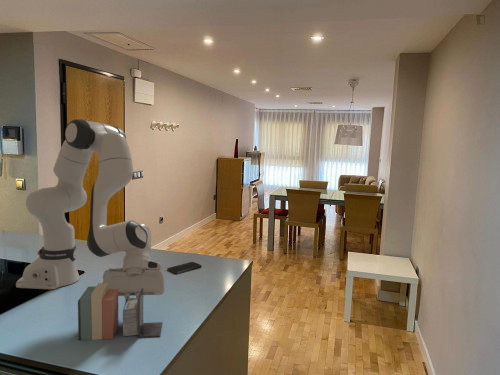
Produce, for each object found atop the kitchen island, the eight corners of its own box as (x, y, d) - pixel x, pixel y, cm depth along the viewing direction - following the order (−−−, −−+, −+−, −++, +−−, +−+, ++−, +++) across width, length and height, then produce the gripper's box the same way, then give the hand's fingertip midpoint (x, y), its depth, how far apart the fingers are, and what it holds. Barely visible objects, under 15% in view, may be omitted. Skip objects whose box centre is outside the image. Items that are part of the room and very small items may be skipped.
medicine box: (138, 335, 108) (138, 308, 107) (122, 336, 107) (122, 309, 106) (140, 322, 115) (140, 297, 114) (125, 323, 114) (125, 298, 113)
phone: (202, 265, 169) (175, 272, 158) (202, 268, 169) (175, 275, 158) (192, 261, 174) (166, 268, 164) (192, 263, 175) (166, 270, 164)
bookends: (78, 340, 104) (77, 301, 103) (86, 326, 112) (86, 289, 110) (160, 336, 108) (160, 298, 106) (162, 323, 116) (162, 287, 114)
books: (80, 340, 104) (80, 294, 102) (88, 326, 112) (88, 283, 110) (112, 338, 106) (112, 293, 104) (118, 325, 113) (118, 282, 112)
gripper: (102, 264, 119) (95, 305, 111) (165, 263, 122) (162, 303, 114) (105, 272, 124) (99, 312, 116) (166, 271, 127) (163, 310, 119)
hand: (131, 308), depth 115 cm, fingers closed
